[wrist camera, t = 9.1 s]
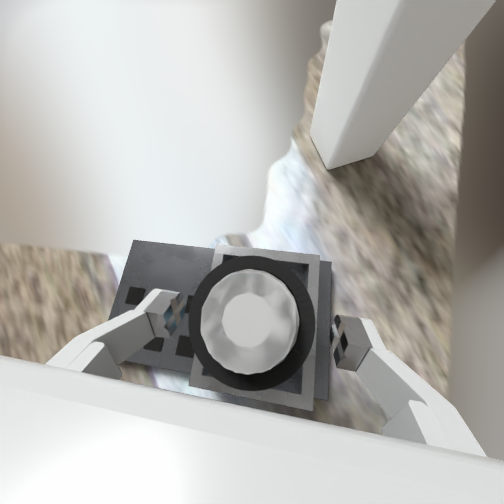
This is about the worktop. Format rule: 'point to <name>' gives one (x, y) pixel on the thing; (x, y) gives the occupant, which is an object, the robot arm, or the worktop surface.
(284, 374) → the push button
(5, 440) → the robot arm
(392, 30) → the white bottle
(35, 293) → the worktop surface
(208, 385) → the organizer
